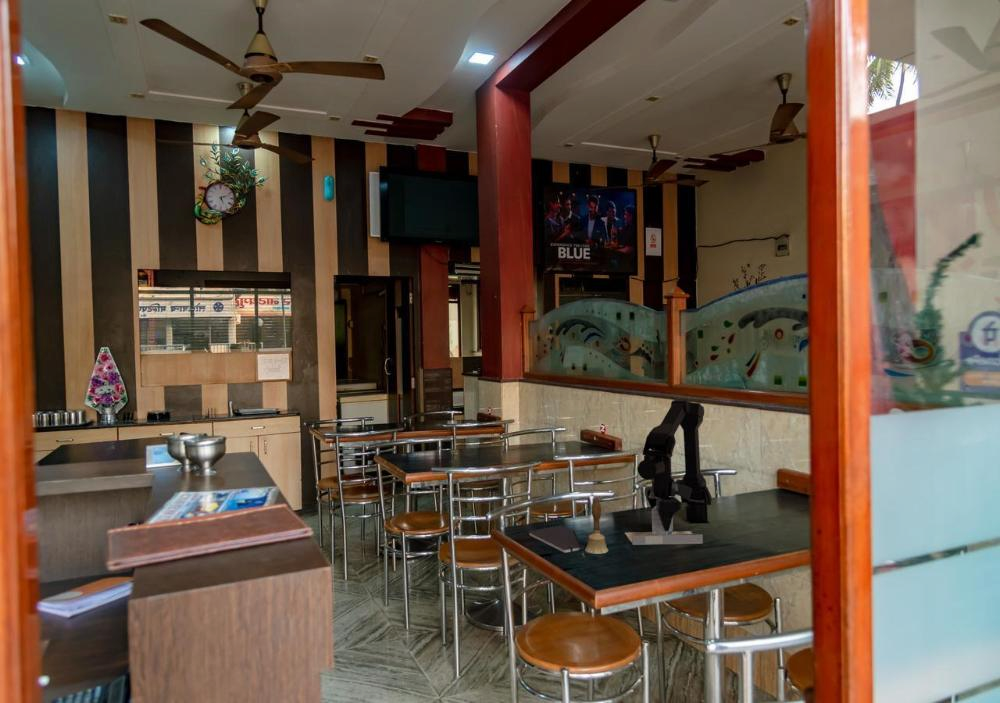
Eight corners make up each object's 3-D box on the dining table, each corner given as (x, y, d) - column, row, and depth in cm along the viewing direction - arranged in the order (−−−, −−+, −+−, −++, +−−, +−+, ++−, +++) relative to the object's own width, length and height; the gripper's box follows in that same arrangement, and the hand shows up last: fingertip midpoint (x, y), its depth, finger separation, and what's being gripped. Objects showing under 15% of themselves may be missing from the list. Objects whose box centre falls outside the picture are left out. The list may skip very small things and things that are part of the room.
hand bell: (609, 550, 179) (608, 494, 179) (614, 560, 170) (612, 501, 170) (580, 550, 179) (579, 495, 179) (583, 560, 170) (582, 502, 171)
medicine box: (667, 540, 180) (666, 510, 179) (651, 538, 182) (651, 508, 182) (673, 532, 187) (672, 503, 186) (658, 530, 189) (657, 502, 189)
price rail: (701, 542, 179) (701, 533, 179) (702, 543, 178) (702, 534, 178) (632, 543, 179) (632, 535, 179) (633, 544, 178) (632, 536, 178)
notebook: (601, 547, 183) (561, 530, 202) (601, 542, 183) (561, 525, 202) (564, 554, 177) (527, 536, 196) (564, 549, 177) (527, 531, 196)
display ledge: (690, 536, 190) (690, 531, 190) (702, 548, 178) (702, 543, 178) (624, 537, 191) (624, 532, 191) (633, 549, 179) (632, 544, 179)
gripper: (698, 479, 175) (700, 535, 175) (679, 467, 193) (680, 517, 193) (658, 480, 175) (660, 536, 175) (643, 468, 193) (645, 518, 193)
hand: (662, 526), depth 184 cm, fingers closed on medicine box, 9 cm apart
